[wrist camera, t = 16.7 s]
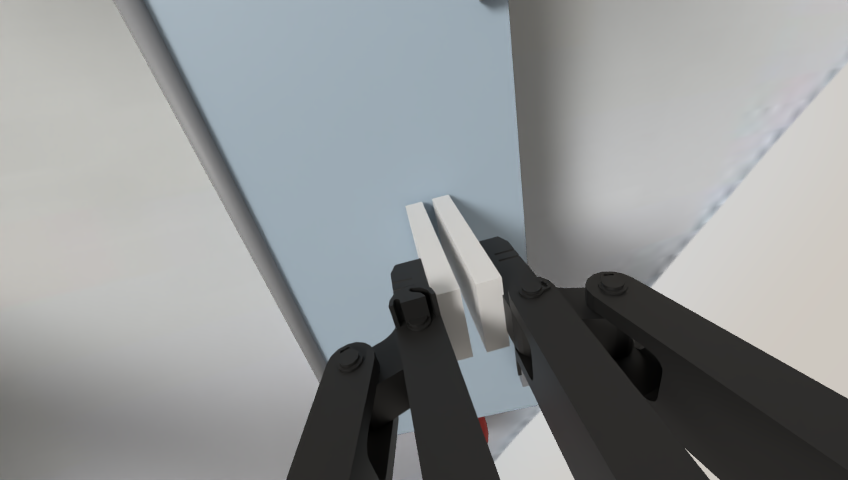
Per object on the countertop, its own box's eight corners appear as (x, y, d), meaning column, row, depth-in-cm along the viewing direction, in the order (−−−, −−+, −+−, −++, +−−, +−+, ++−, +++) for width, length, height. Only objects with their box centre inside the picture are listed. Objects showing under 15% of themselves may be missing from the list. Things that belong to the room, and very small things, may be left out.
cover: (353, 452, 23) (541, 413, 23) (-22, -230, 8) (489, -367, 8) (355, 432, 24) (533, 394, 24) (30, -195, 10) (476, -313, 9)
